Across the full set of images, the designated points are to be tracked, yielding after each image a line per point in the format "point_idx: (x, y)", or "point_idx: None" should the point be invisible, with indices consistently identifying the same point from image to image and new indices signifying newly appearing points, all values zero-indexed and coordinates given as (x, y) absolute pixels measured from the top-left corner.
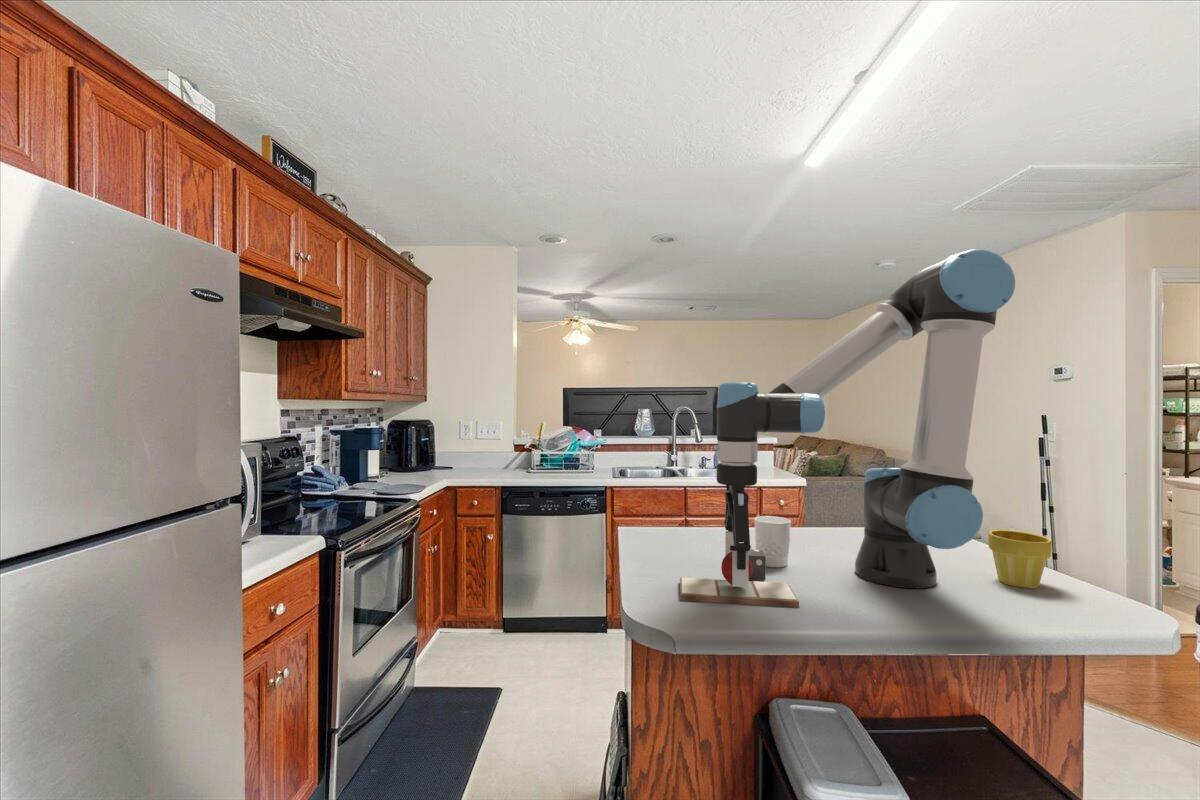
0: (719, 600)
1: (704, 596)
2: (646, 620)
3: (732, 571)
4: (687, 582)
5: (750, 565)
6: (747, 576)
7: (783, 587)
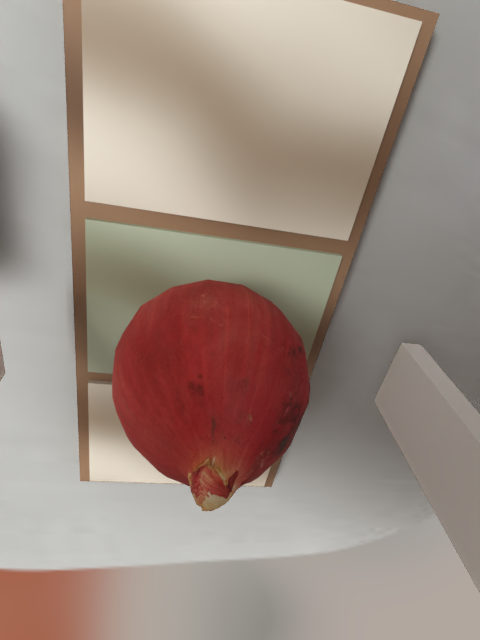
0: None
1: None
2: (390, 529)
3: (405, 454)
4: (149, 468)
5: (278, 337)
6: (449, 385)
7: (192, 16)
